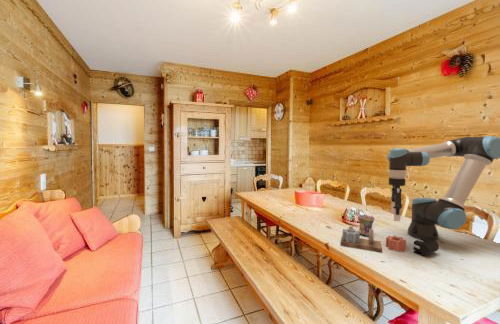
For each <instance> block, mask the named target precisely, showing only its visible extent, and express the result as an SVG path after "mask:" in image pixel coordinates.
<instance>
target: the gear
mask: <svg viewBox="0 0 500 324" xmlns="http://www.w3.org/2000/svg"><path fill="white" fill-rule="evenodd" d="M360 235H361V234H360V232H359V230H356V229H355V228H353V233H351V232H349V227H348V228H347V227H346V228H343V229H342V235H341V238H342V240H345V241H346V242H352V243H355V242H358V243H359V242H360V238H361V236H360Z"/></svg>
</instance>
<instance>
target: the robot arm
mask: <svg viewBox="0 0 500 324" xmlns="http://www.w3.org/2000/svg"><path fill="white" fill-rule="evenodd" d="M441 157H446V158H450V157H451V158H452V157H460V158H461V157H462V158H463V159H464V161H463V163H462V164H461V166H460V168H459V170H458V172H457V174H456V175H455V177H454V179H453V181H452V183H451V184H450V186H449V188H448V190H447V191H446V193H445V195H444V197H440V198H439V199H438V200H437V199H436V198H431V197H415V198H412V204H411V222H410V223H409V226H408V228H407V235H409V236H410V237H413V238H416V239H417V240H419V239H421V238H424V239H428V240H432V239H433V240H435V241H437V240H439V232H438V229H437V226H440V227H441V228H445V229H448V230H457V229H460V228H461V227H463V226H464V225H465V224H466V222H467V214H466V212H465V211H466V207H465V206H464V204H465V203H466V201H467V199H468V198H469V196H470V194H471V193H472V191H473V188H475V185H476V183H477V182H478V180H479V178H480V177H481V176H482V174H483V171H484V169H485V168H486V166H490V165H491V164H492V163H493V162H494V160H498V159H500V137H499V136H496V135H495V136H494V135H492V136H491V135H486V136H464V137H463V136H462V137H459V138H455V139H450V140H445V141H442V143H437V144H432V145H426V146H420V147H419V146H418V147H414V148H409V149H407V148H406V147H405V148H402V147H400V148H398V147H397V148H391V149H389V153H388V154H387V155H386V158H387V162H388V165H389V166H388V169H389V170H388V171H387V173H388V185H389V186H392V187H391V207H390V208H391V209H390V210H391V211H390V213H391V214H393V221H395V222H401V216H402V215H401V210H402V208H403V207H402V188H401V187H405V185H406V176H407V167H423V166H424V167H425V166H427V165H428V164H429V163H430V160H431V159H436V158H441ZM436 225H437V226H436Z"/></svg>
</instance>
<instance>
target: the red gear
mask: <svg viewBox="0 0 500 324" xmlns="http://www.w3.org/2000/svg"><path fill="white" fill-rule="evenodd" d="M385 237H386V238H385V247H386V248H388V250H390V251H391V250H392V251H394V252H399V251H401V252H405V251H406V249H407V240H406V239H404V238H403V237H401V236H400V237H399V236H396V235H392V236H391V235H387V236H385Z"/></svg>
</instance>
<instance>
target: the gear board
mask: <svg viewBox="0 0 500 324" xmlns="http://www.w3.org/2000/svg"><path fill="white" fill-rule="evenodd" d="M348 228H349V232H351V233H353V229H354V226H352V225H350V226H348ZM374 233H375V231H374V229H373V228H372V229H369V236H368V238H361V237H360V242H359V243H358V242H355V243H352V242H346V241H345V240H342V237H341V239H340V246H342V247H347V248H354V249H360V250H364V251H365V250H366V251H371V252H378V253H383V247H382V241H380V240H375V239H374Z"/></svg>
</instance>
